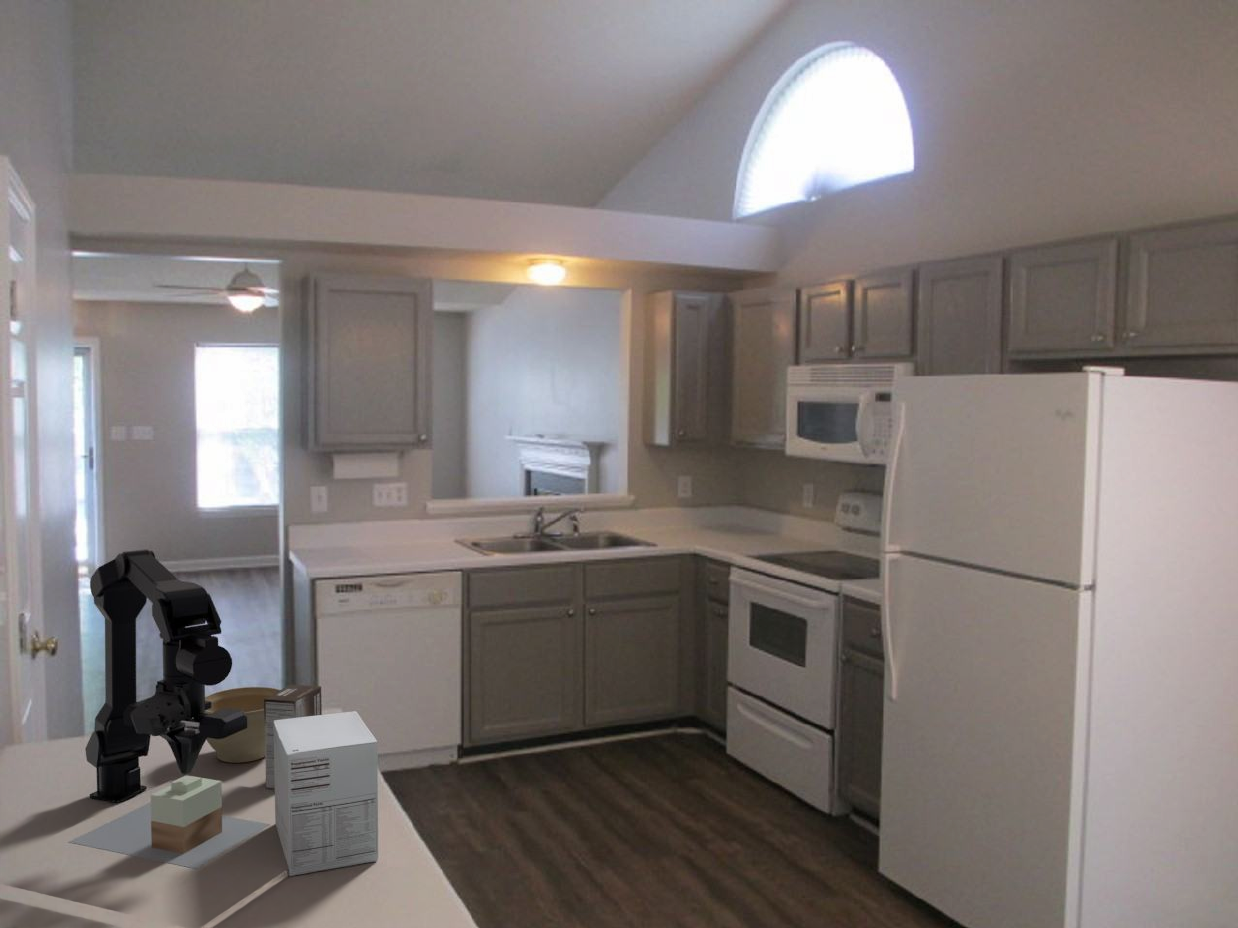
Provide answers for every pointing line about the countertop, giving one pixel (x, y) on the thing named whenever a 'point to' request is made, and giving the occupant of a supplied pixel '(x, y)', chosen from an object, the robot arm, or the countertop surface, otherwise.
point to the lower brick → (186, 833)
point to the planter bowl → (252, 738)
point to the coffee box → (287, 716)
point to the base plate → (135, 840)
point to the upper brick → (186, 800)
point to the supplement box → (326, 791)
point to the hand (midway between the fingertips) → (186, 773)
